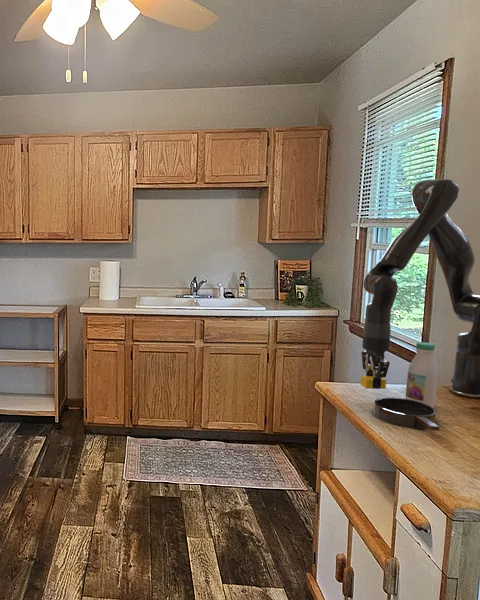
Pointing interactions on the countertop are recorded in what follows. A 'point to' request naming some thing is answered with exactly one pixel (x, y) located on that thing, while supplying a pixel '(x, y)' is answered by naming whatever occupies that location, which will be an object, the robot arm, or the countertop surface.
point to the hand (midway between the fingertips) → (372, 385)
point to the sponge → (371, 382)
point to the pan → (402, 411)
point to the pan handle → (425, 424)
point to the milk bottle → (422, 375)
